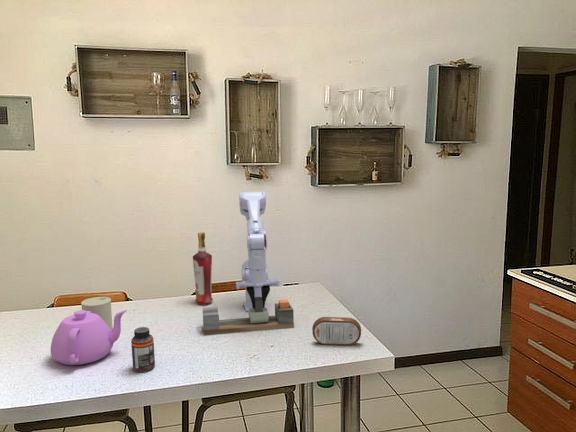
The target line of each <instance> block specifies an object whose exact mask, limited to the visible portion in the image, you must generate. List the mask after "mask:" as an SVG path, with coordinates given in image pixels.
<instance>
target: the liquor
mask: <svg viewBox="0 0 576 432" xmlns="http://www.w3.org/2000/svg"><path fill="white" fill-rule="evenodd" d="M197 238H198V248H197V249H198V251H197V253H195V254H194V255H193V256H192V263H193V265H192V267H193V274H194V284H195V285H194V287H195V303H197V305H200V306H206V305H210V304H211V303H212V302H213V299H214V298H213V297H212V293H213V292H212V291H213V290H212V279H213V278H212V277H213V276H212V275H213V274H212V273H213V272H212V270H213V266H212V265H213V260H212V259H213V257H212V254H210V253H209V252H207V251H206V250H207V249H206V242H205V238H206V232H201V231H200V232H198V233H197Z"/></svg>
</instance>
